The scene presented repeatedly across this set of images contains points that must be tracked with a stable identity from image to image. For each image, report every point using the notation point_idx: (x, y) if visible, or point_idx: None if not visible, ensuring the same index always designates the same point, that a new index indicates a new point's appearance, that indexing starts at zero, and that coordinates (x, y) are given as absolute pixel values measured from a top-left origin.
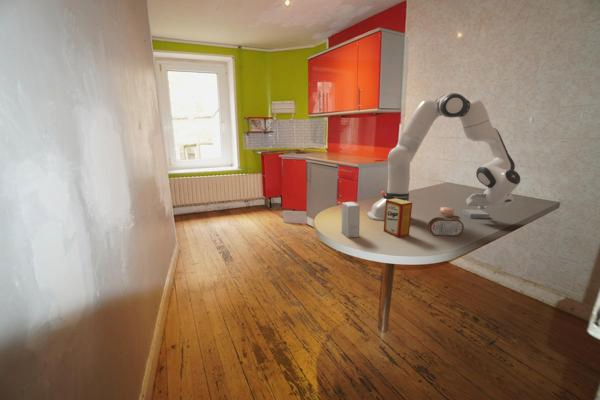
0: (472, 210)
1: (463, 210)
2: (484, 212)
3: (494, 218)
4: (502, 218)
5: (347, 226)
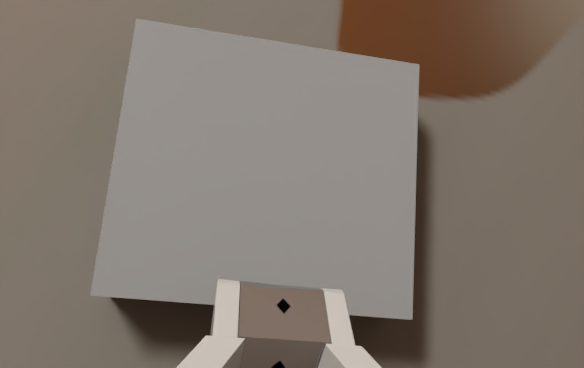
0: (269, 89)
1: (133, 51)
2: (394, 213)
3: (464, 314)
4: (567, 314)
5: None
